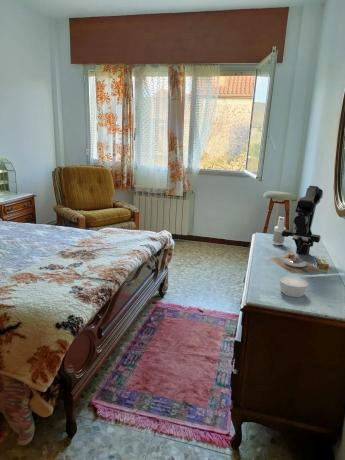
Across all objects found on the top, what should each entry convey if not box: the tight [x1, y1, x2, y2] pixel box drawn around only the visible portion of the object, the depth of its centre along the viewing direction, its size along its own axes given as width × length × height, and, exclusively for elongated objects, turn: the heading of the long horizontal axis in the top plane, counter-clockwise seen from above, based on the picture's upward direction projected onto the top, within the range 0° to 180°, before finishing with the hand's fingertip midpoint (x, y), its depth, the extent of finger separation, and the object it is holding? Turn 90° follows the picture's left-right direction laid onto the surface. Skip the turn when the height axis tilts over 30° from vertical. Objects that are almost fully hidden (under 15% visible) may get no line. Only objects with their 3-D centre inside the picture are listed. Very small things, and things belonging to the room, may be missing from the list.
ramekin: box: [279, 276, 309, 298], centre depth 138 cm, size 11×11×5 cm
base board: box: [269, 256, 324, 274], centre depth 169 cm, size 18×22×1 cm
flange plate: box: [284, 251, 307, 268], centre depth 170 cm, size 14×11×4 cm
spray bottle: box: [272, 216, 287, 246], centre depth 203 cm, size 7×7×18 cm
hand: (298, 251), depth 173 cm, fingers closed
